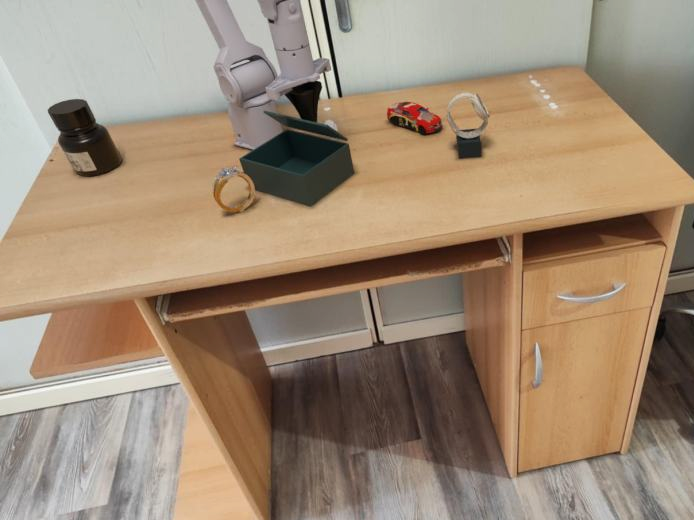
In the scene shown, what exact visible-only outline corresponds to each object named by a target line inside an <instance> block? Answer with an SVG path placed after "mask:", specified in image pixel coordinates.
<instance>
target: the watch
mask: <svg viewBox="0 0 694 520" xmlns="http://www.w3.org/2000/svg"><path fill="white" fill-rule="evenodd" d="M466 99H467V100H469V101H470V102H471V105H472V107H473V109H474V111H475V112H476V114H477V116H478V117H479V119H480V120H482V121H483V122H482V123H481V124H480V126H479V127H478V128H467V129H460V128H459V126H458V125H457V124H456V122H455V121H454V118H453V117H452V115H451V109H452V108H453V106H454V105H455V104H456V103H458V102H459V101H461V100H462V101H463V100H466ZM489 119H490V113H489V111H488V109H487V107H486V105H485V102H484V101H483V99H482V98H481V97H480V95H479V94H478V93H477V92H476V93H473V92H471V91H462V92H459V93H457V94H456V95H453V96H452V97H451V99H450V100H449V102H448V103H447V107H446V120H447V123H448V125H449V127H450V129H451V130H452V132H453V133H454V134H455V137H456V151H457V155H458V159H459V160H460V159H461V160H462V159H473V158H482V141H481V140H482V139H481V136H480V135H482V134H483V133H484V132H485V131H486V129H487V127H488V125H489Z"/></svg>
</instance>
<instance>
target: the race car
mask: <svg viewBox="0 0 694 520" xmlns="http://www.w3.org/2000/svg"><path fill="white" fill-rule="evenodd" d="M386 117H387V120H388V121H389V122H390V123H392V124H393V125H394V126H400V127H404V128H407V129H410V130H413V131H416V132H419V134H421V135H422V136H423V135H426V134H431V133H435V132H437V131H439V130H440V129H441V128H443V127H442V126H443V125H442V124H443V123H442V122H443V121H442V118H441V117H440V116H439V115H437V114H436V113H433V112H431V111H430V110H429V107H427V108H426V107H425V106H423V105H421V104H419V103H416V102H411V101H402V102H395V103H394V104H391V105H390V106H388V107H387V111H386Z"/></svg>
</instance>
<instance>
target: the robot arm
mask: <svg viewBox="0 0 694 520" xmlns="http://www.w3.org/2000/svg"><path fill="white" fill-rule="evenodd" d="M194 1H195V2H196V4H197V7H198V9H199V11H200V13H201V15H202V17H203V18H204V21H205V23H206V24H207V26H208V28H209V31H210V32H211V35H212V36H213V38H214V40H215V42H216V45H217V46H218V48H219V52H218V54H217V57H216V59H215V61H214V64H213V70H214V73H215V75H216V76H217V80H218V85H219V88H220V90H221V92H222V94H223V96H224V98H225V99H227V101H228V104H227V115H228V117H229V120H230V123H231V127H232V129H233V132H234V135H235V138H236V141H235V142H234V145H235V146H237V147H240V148H245V149H249V150H251V151H252V150H254V149H255V148H257V147H259V146H260V145H262V144H263V143H265V142H267V141H268V140H270V139H272V138H273V137H275V136H276V135H278V134H280V133H281V132H283V131H284V130H283V127H282V124H281V123H279V122H278V121H276V120H274V119H273V118H271V117H270V116H268V115H266V114H265V113H263V112H264V111H269V112H273V113H277V114H279V113H278V109H277V105H276V102H278V101H279V100H281V99H282V97H283V96H285V97H286V98H287V100H288V101H289V102H290V103H291V104H292V106H293V107H294V109H295V110H296V113H298V116H299V117H300V119H304V120H308V121H313V122H317V123H318V109H319V108H318V107H319V101H320V96H321V93H322V89H323V84H322V82H321V81H320V79H321V74H323V73H325V72H326V73H329V72H330V71H332V66H331V62H330V60H331V59H330V58H328V57H327V58H325V57H319V58H316V59H313V54H312V49H311V44H310V40H309V34H308V31H307V26H306V21H305V17H304V11H303V8H302V7H303V6H302V2H301V0H257V1H256V2H257V3H258V4H259V8H260V11H261V14H262V15H263V17H264V19H265V18H266V20H267V24H268V28H269V32H270V36H271V41H272V44H273V46H274V52H275V55H276V59H277V61H278V67H279V70H280V74H279V75H278V72H277V70H276V67H275V66H274V64H273V63H272V62H271V61H270V59H269V58H268V57H267V54H266V53H265V51H264V49H263V48H262V47H261V46H258V45H256V44H254V43H252V42H250V41H248V40H246V37H245V35H244V34H243V31H242V29H241V27H240V25H239V23H238V22H237V19H236V16H235V15H234V13H233V10H232V9H231V6H230V4H229V2H228V0H194ZM244 61H246V62H244ZM242 62H243V63H242ZM238 63H241V64H238ZM236 64H238V65H236ZM233 65H236V66H233ZM231 66H233V67H231Z"/></svg>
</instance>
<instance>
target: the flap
mask: <svg viewBox="0 0 694 520" xmlns="http://www.w3.org/2000/svg"><path fill="white" fill-rule="evenodd" d="M263 113H265V114H266V115H268V116H270V117H271V118H273V119H274V120H276V121H278V122H279V123H281V126H282V125H283V126H284V127H286V128H290V129H294V130H300V131H303V132H307V133H311V134H314V135H318V136H324V137H327V138H332V139H336V140H341V141H345V142H348V141H349V138H347V137H346V136H344V135H343V134H342V133H340V132H338V131H337V130H336V129H334V128H333V127H332V126H330V125H329V124H325V123H322V122H321V123H320V122H318V121H317V122H313V121H308V120H304V119H301V118H298V117H296V116H295V117H294V116H290V115H286V114H282V113H278V114H277V113H273V112H269V111H264V112H263Z"/></svg>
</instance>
